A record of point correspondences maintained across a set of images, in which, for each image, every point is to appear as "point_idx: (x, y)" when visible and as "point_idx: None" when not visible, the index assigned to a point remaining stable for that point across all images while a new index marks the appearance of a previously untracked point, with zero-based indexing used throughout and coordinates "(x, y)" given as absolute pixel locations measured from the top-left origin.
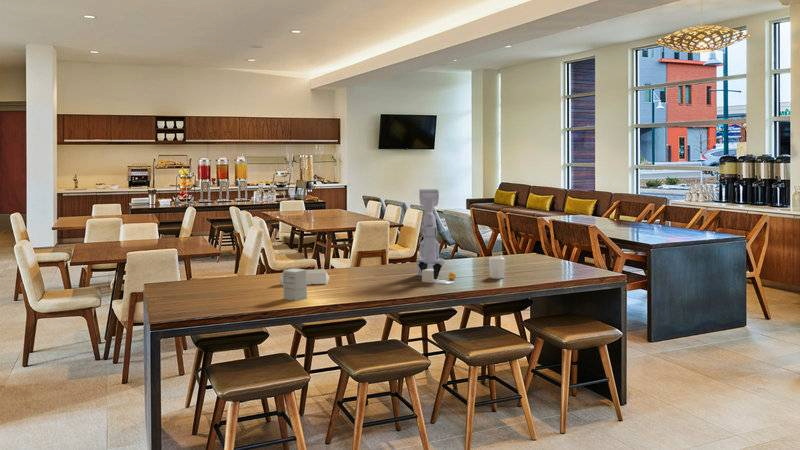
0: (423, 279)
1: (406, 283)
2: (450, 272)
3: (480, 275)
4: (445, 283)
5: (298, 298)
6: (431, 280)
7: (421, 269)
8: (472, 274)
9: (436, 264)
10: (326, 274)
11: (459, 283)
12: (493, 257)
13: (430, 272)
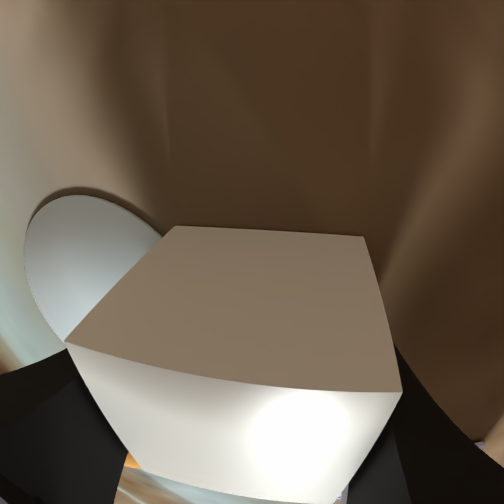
0: (338, 252)
1: (493, 15)
2: (128, 461)
3: (142, 483)
4: (41, 244)
5: None
6: (174, 241)
7: (433, 433)
8: (183, 497)
9: (2, 483)
10: None
11: (18, 307)
12: None
13: (121, 330)
